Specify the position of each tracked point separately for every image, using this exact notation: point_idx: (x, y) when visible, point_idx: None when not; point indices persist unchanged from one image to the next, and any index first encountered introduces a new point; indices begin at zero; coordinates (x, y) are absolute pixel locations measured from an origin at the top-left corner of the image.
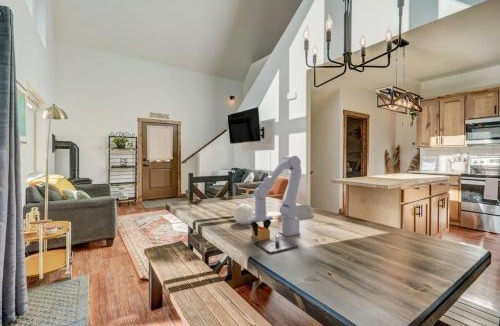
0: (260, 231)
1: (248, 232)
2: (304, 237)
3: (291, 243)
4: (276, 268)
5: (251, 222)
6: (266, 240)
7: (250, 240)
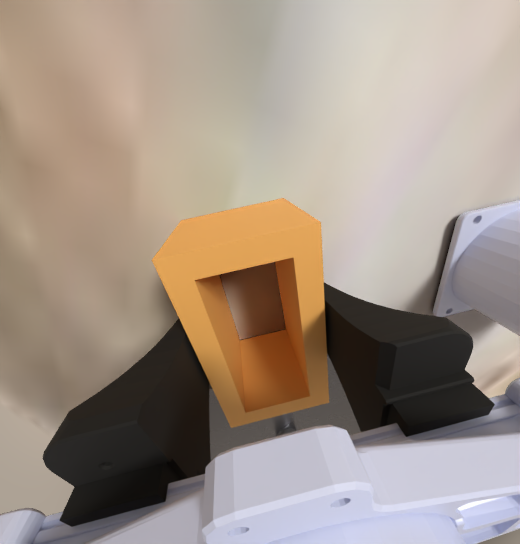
0: (228, 418)
1: (149, 68)
2: (492, 342)
3: (357, 426)
4: None
5: (73, 530)
6: None
7: (150, 333)
